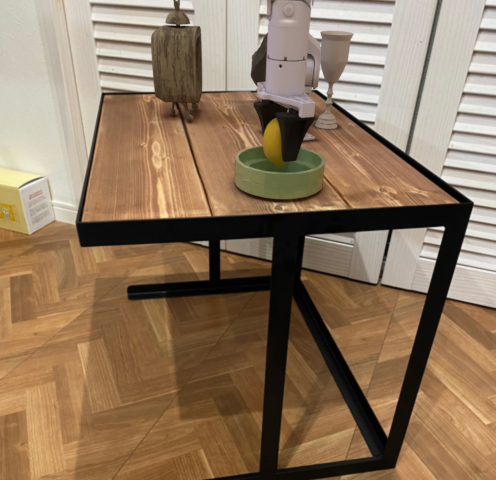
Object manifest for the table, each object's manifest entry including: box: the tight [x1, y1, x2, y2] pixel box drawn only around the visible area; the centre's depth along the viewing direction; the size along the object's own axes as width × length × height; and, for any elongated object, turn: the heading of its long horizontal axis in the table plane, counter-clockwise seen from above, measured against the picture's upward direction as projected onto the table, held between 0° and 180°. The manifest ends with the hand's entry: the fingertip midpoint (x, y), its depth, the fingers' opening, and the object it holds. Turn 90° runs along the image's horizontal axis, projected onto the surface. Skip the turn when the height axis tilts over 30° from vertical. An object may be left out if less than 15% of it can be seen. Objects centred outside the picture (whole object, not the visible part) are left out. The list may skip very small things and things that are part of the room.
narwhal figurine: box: [250, 31, 268, 87], centre depth 118 cm, size 14×15×18 cm
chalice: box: [314, 30, 355, 130], centre depth 108 cm, size 7×7×18 cm
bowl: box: [234, 144, 326, 200], centre depth 82 cm, size 14×14×4 cm
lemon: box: [262, 118, 288, 168], centre depth 79 cm, size 6×6×8 cm
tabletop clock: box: [150, 0, 203, 123], centre depth 109 cm, size 14×9×25 cm, turn 179°
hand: (280, 154), depth 80 cm, fingers closed on lemon, 5 cm apart
